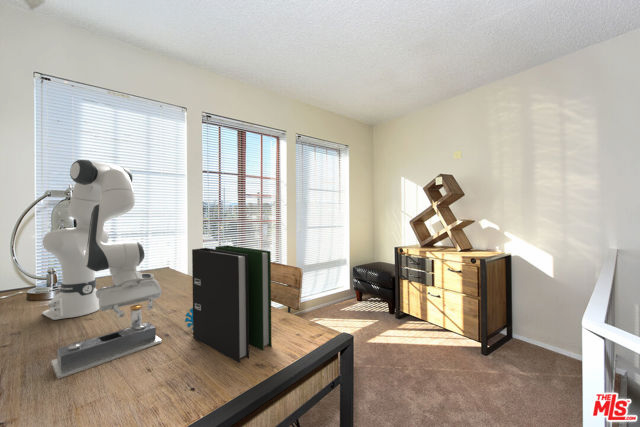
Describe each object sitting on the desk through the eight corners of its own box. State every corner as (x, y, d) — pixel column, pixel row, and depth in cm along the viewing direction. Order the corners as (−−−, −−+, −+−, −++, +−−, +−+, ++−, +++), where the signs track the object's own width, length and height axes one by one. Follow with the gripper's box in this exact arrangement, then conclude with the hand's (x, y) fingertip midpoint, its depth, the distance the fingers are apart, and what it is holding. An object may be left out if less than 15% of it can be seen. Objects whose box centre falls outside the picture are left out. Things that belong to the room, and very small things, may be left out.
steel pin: (128, 334, 100) (128, 307, 99) (137, 330, 103) (137, 304, 103) (135, 335, 98) (134, 308, 98) (144, 331, 102) (144, 305, 102)
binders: (273, 345, 90) (272, 250, 90) (234, 365, 78) (233, 256, 78) (228, 324, 107) (227, 245, 107) (191, 338, 95) (190, 249, 95)
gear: (187, 331, 98) (184, 306, 104) (182, 339, 100) (180, 314, 106) (217, 326, 105) (213, 303, 111) (212, 334, 108) (208, 311, 114)
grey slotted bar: (57, 379, 73) (57, 358, 72) (51, 363, 80) (51, 345, 80) (161, 342, 93) (161, 326, 93) (149, 332, 100) (148, 318, 100)
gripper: (95, 283, 98) (103, 316, 92) (157, 273, 114) (167, 300, 108) (93, 293, 101) (100, 326, 95) (153, 282, 117) (163, 308, 111)
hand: (136, 312), depth 101 cm, fingers open, 8 cm apart
